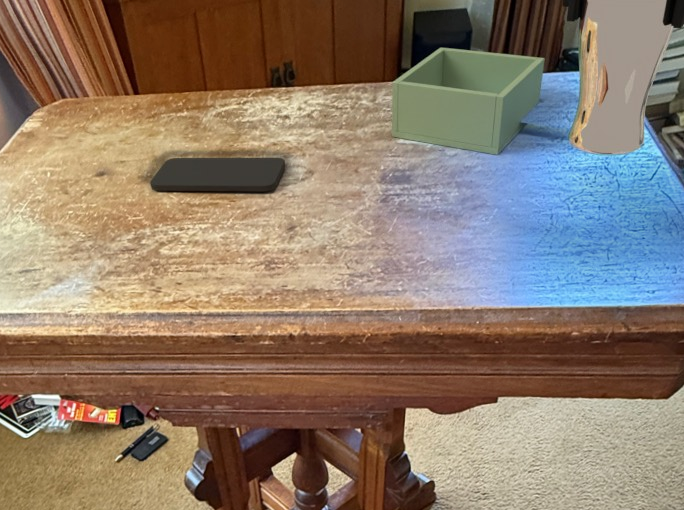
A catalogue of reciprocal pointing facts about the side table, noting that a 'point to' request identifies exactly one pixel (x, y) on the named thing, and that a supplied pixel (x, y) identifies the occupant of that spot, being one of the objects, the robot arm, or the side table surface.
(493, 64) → the bin
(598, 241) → the side table surface
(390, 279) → the side table surface
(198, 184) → the phone
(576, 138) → the beer glass
